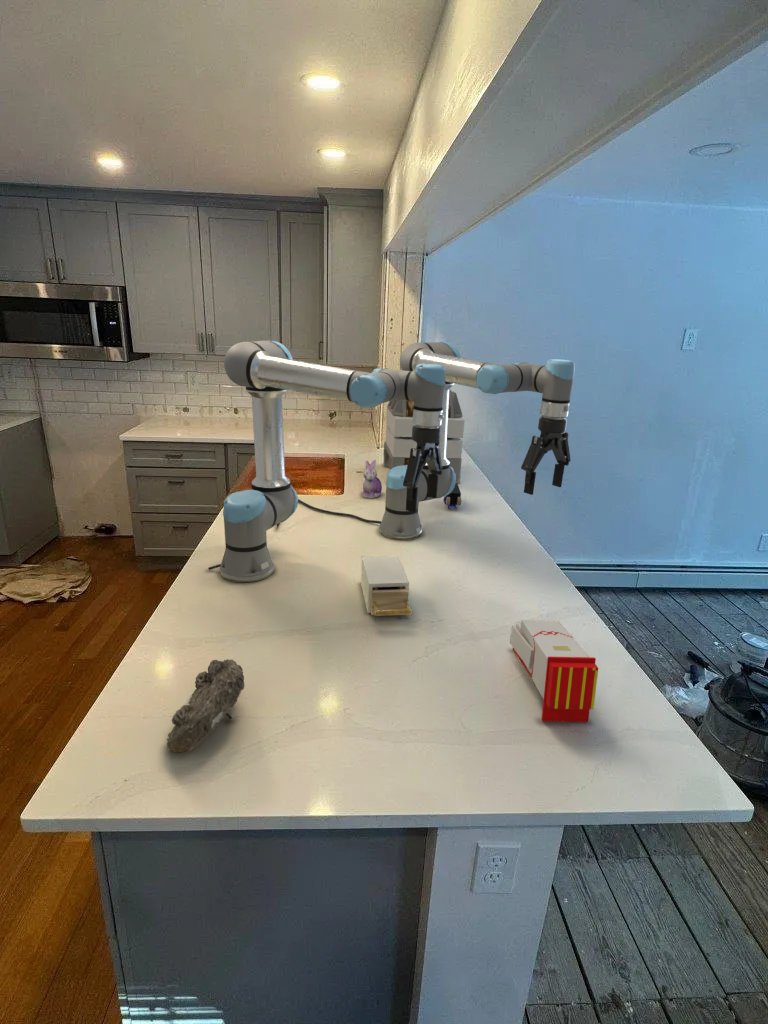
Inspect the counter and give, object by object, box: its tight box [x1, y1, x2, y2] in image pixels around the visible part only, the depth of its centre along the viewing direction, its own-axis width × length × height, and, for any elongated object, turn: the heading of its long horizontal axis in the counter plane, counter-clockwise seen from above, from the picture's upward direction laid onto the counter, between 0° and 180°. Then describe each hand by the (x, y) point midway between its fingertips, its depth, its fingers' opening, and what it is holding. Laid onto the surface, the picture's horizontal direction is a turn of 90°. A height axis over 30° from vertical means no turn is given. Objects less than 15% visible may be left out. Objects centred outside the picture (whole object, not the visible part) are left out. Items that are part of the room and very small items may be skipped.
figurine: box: [361, 459, 383, 499], centre depth 237 cm, size 9×10×15 cm
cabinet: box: [360, 555, 410, 614], centre depth 154 cm, size 17×10×9 cm, turn 8°
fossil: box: [166, 658, 245, 754], centre depth 106 cm, size 22×10×15 cm
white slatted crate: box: [383, 388, 465, 484], centre depth 268 cm, size 34×33×41 cm
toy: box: [509, 619, 599, 723], centre depth 122 cm, size 12×13×30 cm
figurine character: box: [442, 483, 462, 510], centre depth 230 cm, size 7×8×15 cm
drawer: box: [370, 586, 413, 617], centre depth 148 cm, size 21×9×6 cm, turn 8°
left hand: (421, 503), depth 153 cm, fingers open, 13 cm apart
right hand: (542, 489), depth 165 cm, fingers open, 13 cm apart
